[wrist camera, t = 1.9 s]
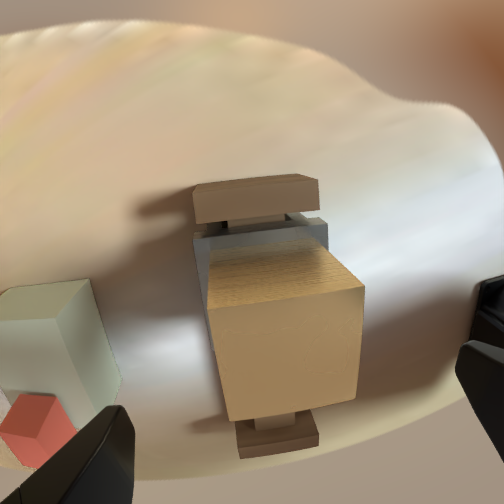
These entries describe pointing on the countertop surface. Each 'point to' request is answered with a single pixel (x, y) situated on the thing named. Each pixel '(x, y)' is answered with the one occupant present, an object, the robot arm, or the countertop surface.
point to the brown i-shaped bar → (250, 213)
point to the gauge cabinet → (57, 348)
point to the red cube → (36, 429)
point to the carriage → (279, 316)
